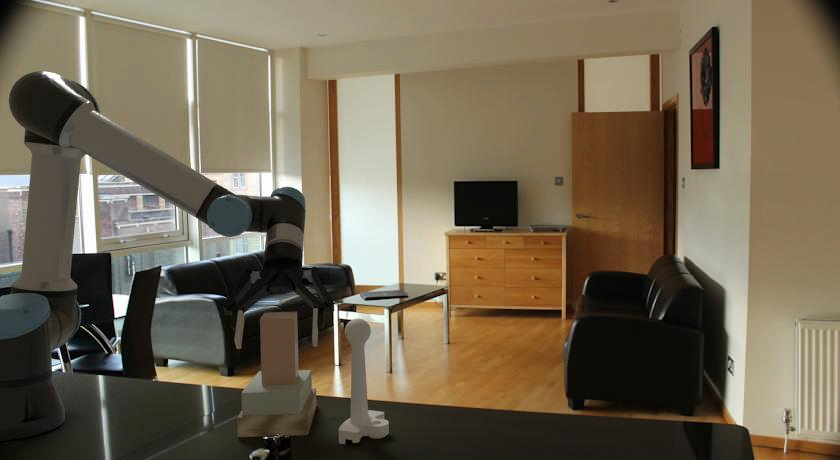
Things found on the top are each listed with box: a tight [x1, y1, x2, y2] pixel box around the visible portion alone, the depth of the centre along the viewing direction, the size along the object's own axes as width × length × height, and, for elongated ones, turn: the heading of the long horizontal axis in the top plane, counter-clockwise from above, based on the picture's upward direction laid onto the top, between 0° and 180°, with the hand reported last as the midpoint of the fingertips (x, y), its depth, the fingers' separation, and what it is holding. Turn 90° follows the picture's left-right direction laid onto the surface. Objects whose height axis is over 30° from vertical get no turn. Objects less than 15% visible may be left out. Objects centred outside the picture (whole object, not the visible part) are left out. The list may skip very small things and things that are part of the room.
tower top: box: [240, 369, 313, 415], centre depth 128 cm, size 10×14×4 cm
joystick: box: [338, 318, 390, 445], centre depth 120 cm, size 11×8×20 cm
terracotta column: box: [259, 311, 300, 385], centre depth 128 cm, size 6×6×12 cm
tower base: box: [236, 388, 318, 438], centre depth 128 cm, size 12×16×4 cm
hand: (276, 343), depth 125 cm, fingers open, 13 cm apart
